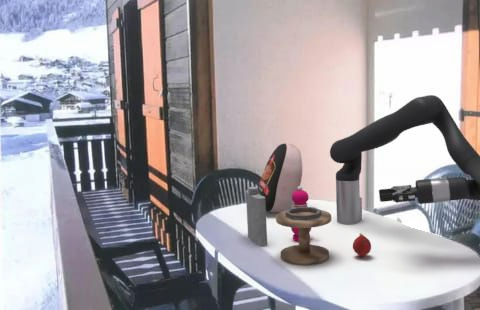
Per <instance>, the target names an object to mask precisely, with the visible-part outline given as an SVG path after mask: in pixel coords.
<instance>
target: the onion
mask: <svg viewBox="0 0 480 310" xmlns="http://www.w3.org/2000/svg"><path fill="white" fill-rule="evenodd" d="M352 250H353V251H354V252H355V253H356V254H357V256H359V257H360V258H364V257H366V256H367V255H368V254H370V252H371V250H372V243H371V241H370V239H369V238H367V237H366V236H365V235H364V234H363V233H362V232H361V233H360V232H359V236H357V237H356V238H355V239H354V241H353V243H352Z"/></svg>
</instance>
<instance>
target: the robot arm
mask: <svg viewBox="0 0 480 310" xmlns="http://www.w3.org/2000/svg"><path fill="white" fill-rule="evenodd" d="M429 124H432V125H433V126H435V127H436V128H437V129H438V131H439V132H440V133H441V135H442V136H443V139H444V142H445V143H444V144H445V146H446V150H447V152H448V154H449V156H450V158H451V159H452V161H453V162H454V163H455V164H456V165H457V167H458V168H459V170H461V172H462V173H463V174H465V175H468V176H470V177H471V179H467V178H466V177H463V176H455V177H435V178H427V179H417V180H415V186H412V184H406V185H394V186H392V187H390V188H381V189H379V190H378V193H379V194H378V195H379V202H380V203H381V202H383V203H384V202H394V203H397V204H399V203H404V202H405V203H406V202H415V201H416V200H417V203H418V204H419V205H424V204H434V203H444V202H449V201H459V200H468V201H469V200H473V201H480V154H479V153H478V151H476V149H475V148H474V147H473V146H472V145H471V144H470V142H469V141H468V139H467V138H466V137H465V136H464V134H463V133H462V131H461V130H460V128H459V127H458V125H457V123H456V122H455V120H454V118H453V117H452V115H451V113H450V112H449V109H448V108H447V106H446V105H445V103H444V102H443V100H442V99H441V98H440V97H438V96H436V95H429V94H428V95H423V96H418V97H415V98H413V99H411V100H410V101H408V102H407V103H406V104H404V105H403V106H401V107H400V108H399V109H397V110H395V112H393V113H390V114H387V115H384V116H383V117H381V118H379V119H377V120H374V121H372V122H371V123H369V124H368V125H366V126H364V127H362V128H361V129H359V130H357V132H356V131H355V133H353V134H352V135H349V136H347V137H343V138H341V139H339V140H336V141H333V142H332V145H331V147H330V149H329V155H330V158H331V160H332V161H334V162H335V163H337V164H343V166H342V167H341V168H340V169H339V170H338V171H336V173H335V192H336V194H335V195H336V196H335V197H336V198H335V199H336V222H337V223H338V224H344V225H354V224H359V223H360V222H362V221H363V198H362V197H361V195H360V194H361V191H360V186H361V185H360V175H361V173H362V159H363V158H362V156H363V152H366V151H367V152H368V151H371V150H375V149H378V148H381V147H383V146H385V145H387V144H390V143H392V142H393V141H395V140H397V138H398V137H399V136H400V135H401V134H402V133H403V132H406V131H407V130H410V129H412V128H415V127H416V128H417V127H419V126H425V125H429Z"/></svg>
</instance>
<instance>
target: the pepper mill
mask: <svg viewBox="0 0 480 310" xmlns="http://www.w3.org/2000/svg"><path fill="white" fill-rule="evenodd" d="M297 189H298V190H297V191H295V192H294V193H293V194H292V200H293V202H294V204H293V208H296V207H308V203H307V202H308V201H309V194H308V192H307V191H306V190H303V186H301V185H300V186H298V188H297ZM290 229H291V232H292V233H293V235H292V239H293V241H294V242H297V243H299V231H298V228H292V227H290ZM311 231H312V228H309V232H311Z"/></svg>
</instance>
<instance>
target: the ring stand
mask: <svg viewBox="0 0 480 310" xmlns="http://www.w3.org/2000/svg"><path fill="white" fill-rule="evenodd" d="M331 221H332V214H331V213H330V212H328V211H327V210H323V209H319V208H317V207H313V206H307V207H296V208H294V207H292V208H291V209H288V210H287V211H283V212H280V213H276V215H275V222H276V223H277V224H278V225H280V226H283V227H286V228H291V227H292V228H298V231H299V242H298V244H296V245H290V246H287V247H284V248H282V249H281V251H280V259H281V260H282V261H284V262H285V263H286V264H291V265H298V266H311V265H312V264H313V265H318V264H322V263H324V262H326V261H328V260H329V259H330V251H329V250H328V248H326V247H323V246H321V245H317V244H316V245H315V244H311V233H310V232H311V231H310V232H309V228H311V229H312V228H317V227H323V226H326V225H328V224H330V223H331Z"/></svg>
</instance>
